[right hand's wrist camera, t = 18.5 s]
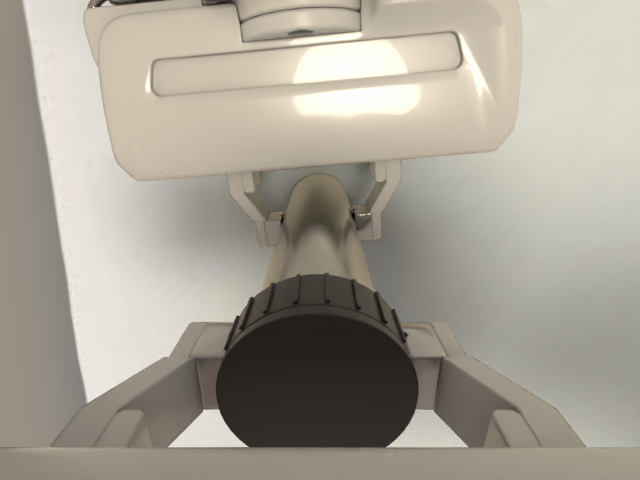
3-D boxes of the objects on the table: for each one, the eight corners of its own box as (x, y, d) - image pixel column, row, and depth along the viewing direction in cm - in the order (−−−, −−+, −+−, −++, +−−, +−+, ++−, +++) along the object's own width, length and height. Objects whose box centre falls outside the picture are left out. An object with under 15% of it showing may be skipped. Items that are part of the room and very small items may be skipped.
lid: (311, 434, 12) (309, 495, 10) (194, 341, 10) (168, 392, 8) (438, 353, 10) (462, 406, 9) (325, 233, 9) (326, 267, 7)
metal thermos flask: (280, 213, 26) (213, 402, 10) (306, 163, 24) (280, 284, 8) (330, 238, 26) (346, 452, 10) (358, 191, 25) (428, 352, 9)
